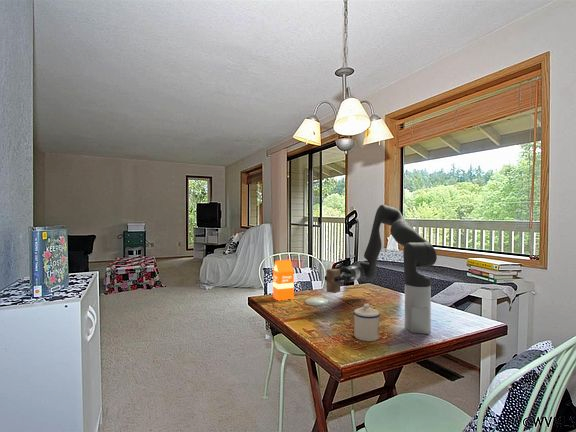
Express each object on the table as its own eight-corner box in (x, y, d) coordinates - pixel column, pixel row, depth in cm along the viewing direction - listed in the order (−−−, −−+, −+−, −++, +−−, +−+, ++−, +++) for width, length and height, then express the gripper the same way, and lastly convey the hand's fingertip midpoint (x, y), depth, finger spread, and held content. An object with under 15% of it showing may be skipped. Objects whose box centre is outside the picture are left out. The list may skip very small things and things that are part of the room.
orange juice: (293, 299, 163) (293, 260, 163) (278, 301, 159) (277, 261, 159) (288, 295, 170) (288, 258, 170) (272, 297, 167) (272, 259, 166)
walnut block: (340, 291, 144) (340, 269, 144) (334, 293, 141) (334, 270, 141) (332, 289, 147) (331, 268, 147) (326, 291, 144) (326, 269, 144)
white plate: (326, 306, 150) (326, 304, 150) (303, 305, 152) (303, 302, 152) (328, 300, 160) (328, 297, 160) (307, 299, 163) (307, 296, 163)
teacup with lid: (384, 340, 110) (384, 307, 109) (360, 343, 108) (360, 309, 108) (369, 328, 121) (369, 298, 121) (346, 330, 120) (346, 299, 119)
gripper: (337, 265, 160) (317, 269, 147) (362, 267, 150) (343, 272, 137) (337, 279, 160) (317, 285, 147) (362, 283, 150) (343, 289, 137)
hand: (330, 279), depth 142 cm, fingers closed on walnut block, 4 cm apart
